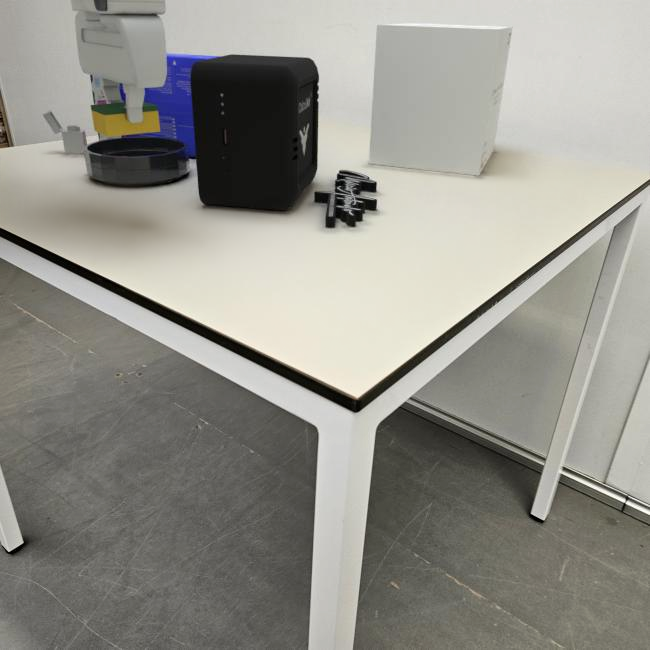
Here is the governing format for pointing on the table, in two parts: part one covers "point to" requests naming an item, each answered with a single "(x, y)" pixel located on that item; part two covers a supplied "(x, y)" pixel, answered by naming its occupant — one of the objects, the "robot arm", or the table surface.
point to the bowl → (137, 160)
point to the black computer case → (255, 129)
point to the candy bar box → (99, 101)
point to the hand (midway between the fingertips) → (125, 118)
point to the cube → (437, 95)
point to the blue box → (174, 101)
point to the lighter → (68, 135)
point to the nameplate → (347, 198)
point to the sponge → (123, 120)
